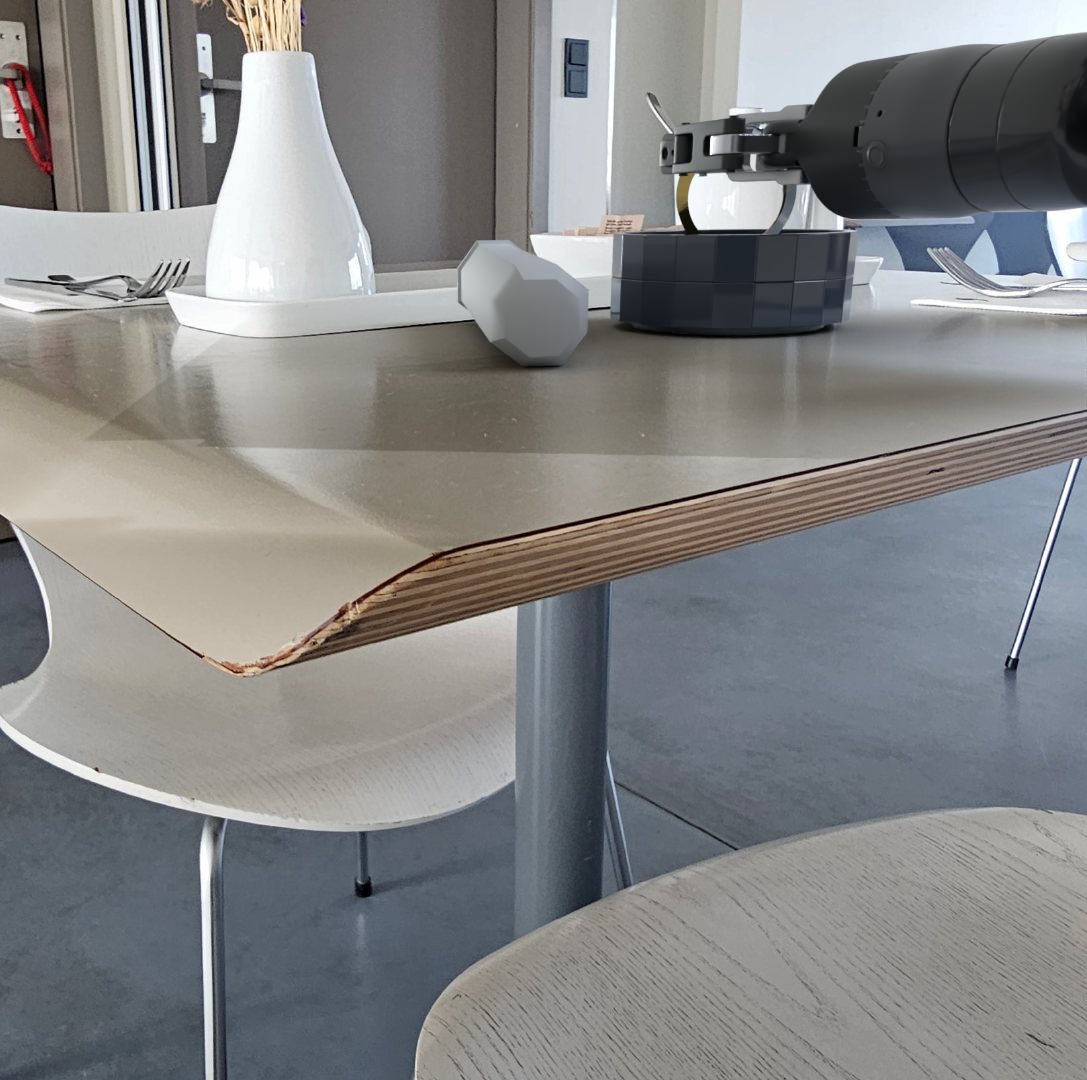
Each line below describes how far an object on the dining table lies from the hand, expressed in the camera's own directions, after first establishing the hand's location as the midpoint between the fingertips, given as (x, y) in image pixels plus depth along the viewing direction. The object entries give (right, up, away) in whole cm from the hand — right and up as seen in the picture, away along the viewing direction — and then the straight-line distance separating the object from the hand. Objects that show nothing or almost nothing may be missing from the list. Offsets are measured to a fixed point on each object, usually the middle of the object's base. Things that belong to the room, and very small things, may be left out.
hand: (714, 154), depth 71 cm
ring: (+1, -7, 0) cm, 7 cm away
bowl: (+1, -10, +2) cm, 10 cm away
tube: (-12, -13, -5) cm, 18 cm away
